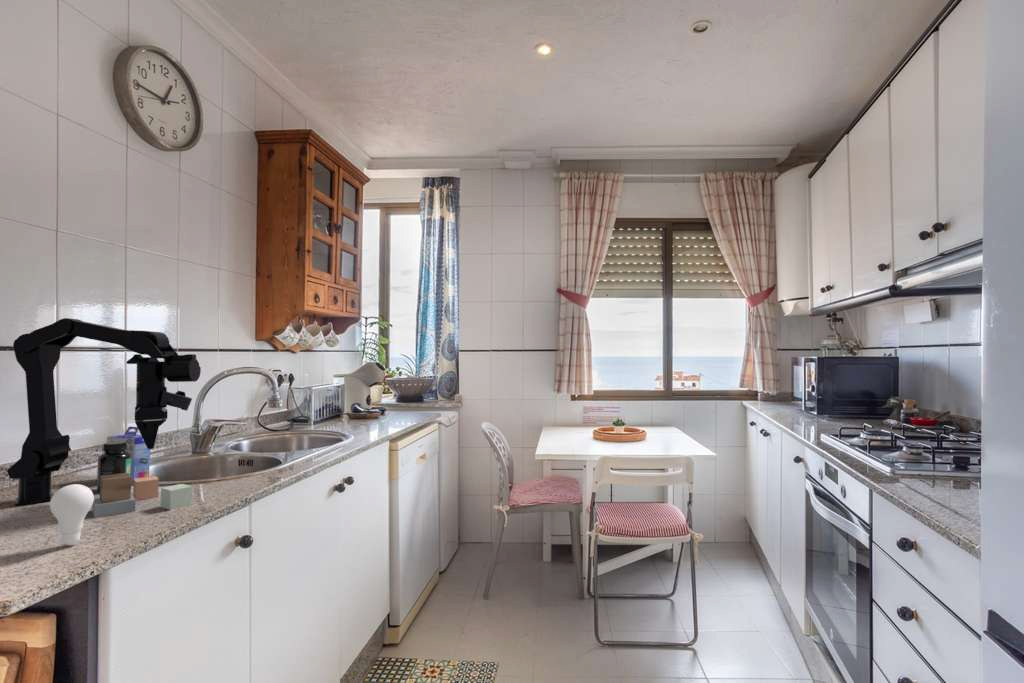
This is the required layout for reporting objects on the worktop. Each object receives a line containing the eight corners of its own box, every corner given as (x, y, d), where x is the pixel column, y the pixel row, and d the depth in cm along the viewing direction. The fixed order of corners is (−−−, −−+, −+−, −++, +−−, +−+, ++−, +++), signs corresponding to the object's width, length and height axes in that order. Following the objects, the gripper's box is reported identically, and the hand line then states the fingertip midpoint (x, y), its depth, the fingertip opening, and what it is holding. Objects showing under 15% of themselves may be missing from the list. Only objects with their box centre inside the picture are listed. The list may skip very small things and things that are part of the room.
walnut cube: (99, 498, 114) (100, 475, 114) (127, 494, 118) (128, 472, 118) (101, 503, 110) (103, 480, 111) (130, 499, 114) (131, 476, 114)
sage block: (160, 507, 117) (161, 487, 117) (181, 502, 121) (182, 483, 121) (170, 510, 114) (170, 490, 115) (191, 505, 118) (192, 486, 118)
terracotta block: (133, 497, 125) (133, 478, 125) (155, 493, 128) (155, 475, 128) (135, 501, 122) (136, 482, 122) (158, 497, 125) (158, 479, 125)
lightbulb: (66, 539, 96) (68, 480, 96) (100, 539, 96) (102, 480, 97) (38, 552, 90) (41, 489, 90) (75, 551, 90) (77, 488, 90)
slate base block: (92, 512, 114) (92, 498, 114) (130, 506, 119) (131, 493, 119) (94, 519, 109) (95, 505, 109) (135, 513, 114) (135, 499, 114)
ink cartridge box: (151, 478, 144) (152, 426, 145) (132, 482, 139) (134, 429, 139) (122, 476, 146) (123, 425, 147) (103, 480, 141) (105, 428, 141)
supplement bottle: (136, 487, 134) (137, 441, 134) (106, 494, 127) (108, 445, 128) (120, 484, 136) (121, 439, 137) (90, 490, 130) (92, 443, 131)
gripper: (192, 382, 122) (192, 447, 122) (186, 380, 137) (186, 438, 137) (135, 384, 116) (134, 453, 115) (135, 381, 131) (134, 442, 130)
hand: (150, 446), depth 124 cm, fingers open, 9 cm apart
